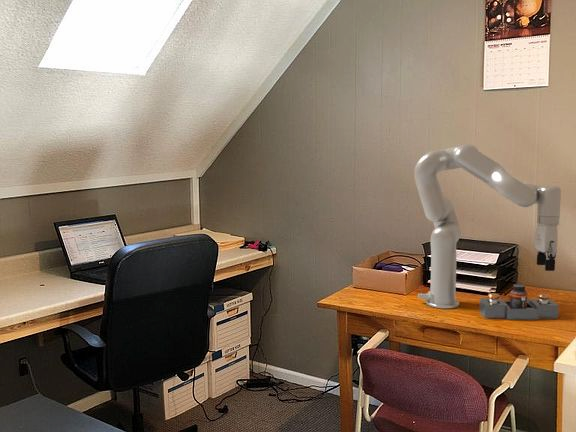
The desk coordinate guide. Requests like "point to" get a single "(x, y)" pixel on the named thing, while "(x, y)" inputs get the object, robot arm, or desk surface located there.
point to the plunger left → (493, 297)
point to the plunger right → (543, 298)
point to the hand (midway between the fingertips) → (545, 267)
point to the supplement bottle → (518, 296)
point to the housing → (519, 310)
